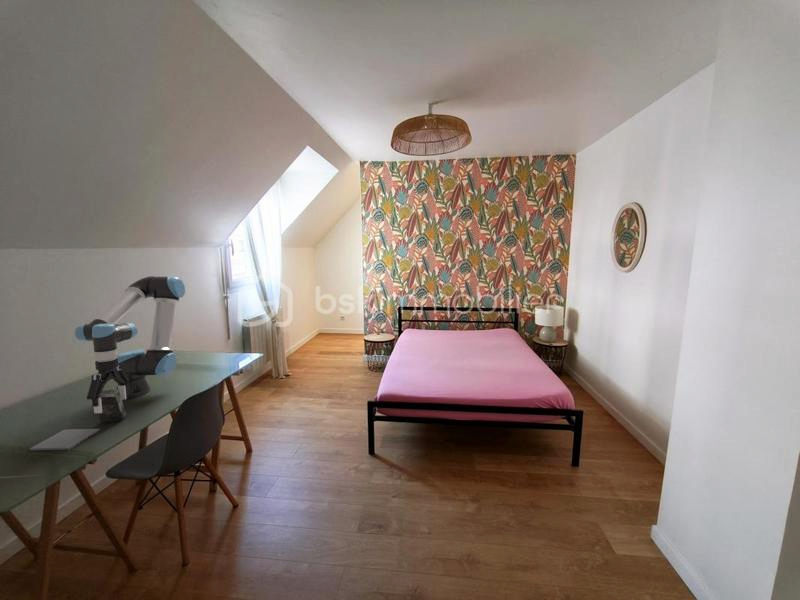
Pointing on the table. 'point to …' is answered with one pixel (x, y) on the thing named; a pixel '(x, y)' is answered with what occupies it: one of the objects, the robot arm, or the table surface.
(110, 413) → the stone block
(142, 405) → the table surface
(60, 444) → the slate pad
